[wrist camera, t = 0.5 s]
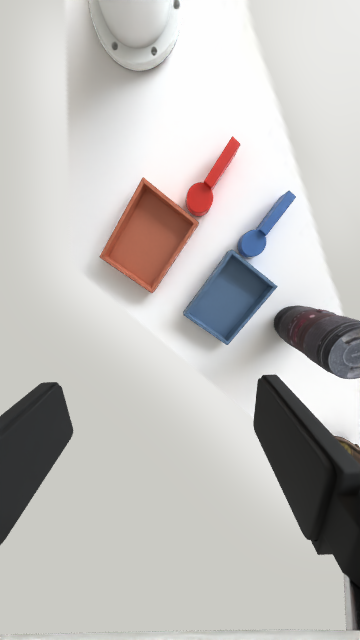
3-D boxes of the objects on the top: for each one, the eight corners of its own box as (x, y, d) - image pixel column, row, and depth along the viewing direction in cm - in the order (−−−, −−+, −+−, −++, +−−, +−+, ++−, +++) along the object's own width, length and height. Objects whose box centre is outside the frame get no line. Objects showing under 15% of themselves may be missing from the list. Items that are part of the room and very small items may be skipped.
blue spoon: (250, 262, 33) (256, 261, 30) (232, 247, 32) (237, 245, 30) (292, 208, 30) (302, 202, 28) (274, 191, 30) (283, 184, 27)
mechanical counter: (335, 486, 43) (384, 480, 39) (317, 462, 39) (369, 453, 35) (318, 453, 49) (359, 445, 45) (300, 429, 45) (343, 418, 41)
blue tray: (228, 250, 32) (231, 249, 30) (270, 285, 34) (277, 286, 32) (183, 312, 36) (183, 315, 33) (224, 340, 38) (227, 345, 35)
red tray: (145, 184, 29) (142, 176, 27) (197, 226, 31) (198, 222, 29) (105, 258, 33) (99, 257, 30) (154, 291, 35) (152, 293, 32)
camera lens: (264, 313, 36) (320, 342, 21) (301, 296, 35) (387, 313, 20) (276, 345, 38) (336, 390, 23) (312, 329, 37) (398, 366, 22)
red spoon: (201, 221, 31) (202, 217, 29) (181, 205, 30) (181, 199, 28) (241, 160, 29) (247, 150, 26) (221, 141, 28) (225, 129, 25)
